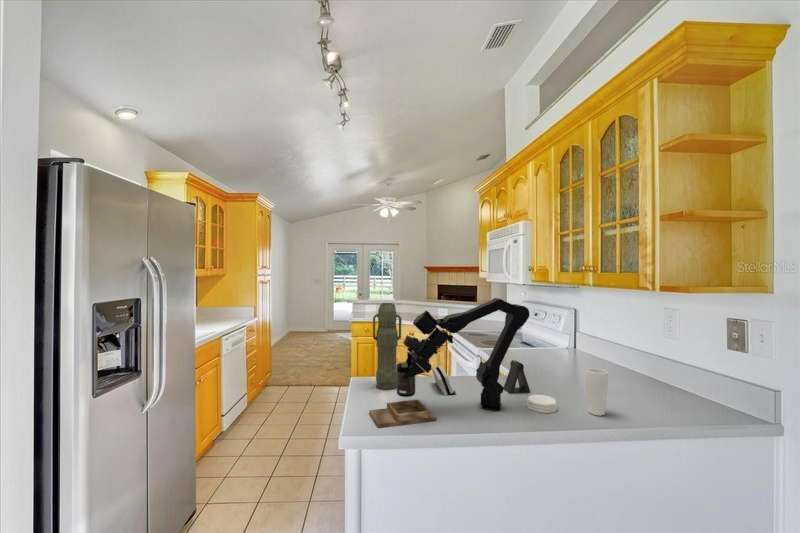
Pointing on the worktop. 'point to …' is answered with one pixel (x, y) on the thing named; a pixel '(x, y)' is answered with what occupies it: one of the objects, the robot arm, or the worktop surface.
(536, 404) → the coaster
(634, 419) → the worktop surface
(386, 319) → the thermos
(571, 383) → the worktop surface
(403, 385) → the supplement container
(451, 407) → the worktop surface
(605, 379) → the drinking glass
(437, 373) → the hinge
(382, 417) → the board
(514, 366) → the phone stand
